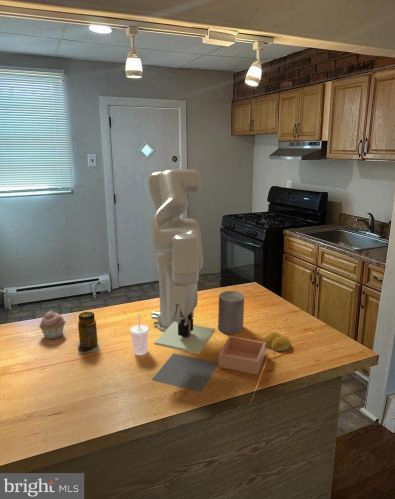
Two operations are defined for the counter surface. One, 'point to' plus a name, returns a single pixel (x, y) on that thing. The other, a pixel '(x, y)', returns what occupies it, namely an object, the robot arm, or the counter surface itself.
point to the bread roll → (277, 341)
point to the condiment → (87, 333)
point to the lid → (185, 338)
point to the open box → (242, 355)
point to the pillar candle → (231, 312)
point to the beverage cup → (139, 338)
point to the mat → (186, 372)
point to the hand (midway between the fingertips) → (185, 332)
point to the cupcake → (52, 325)
